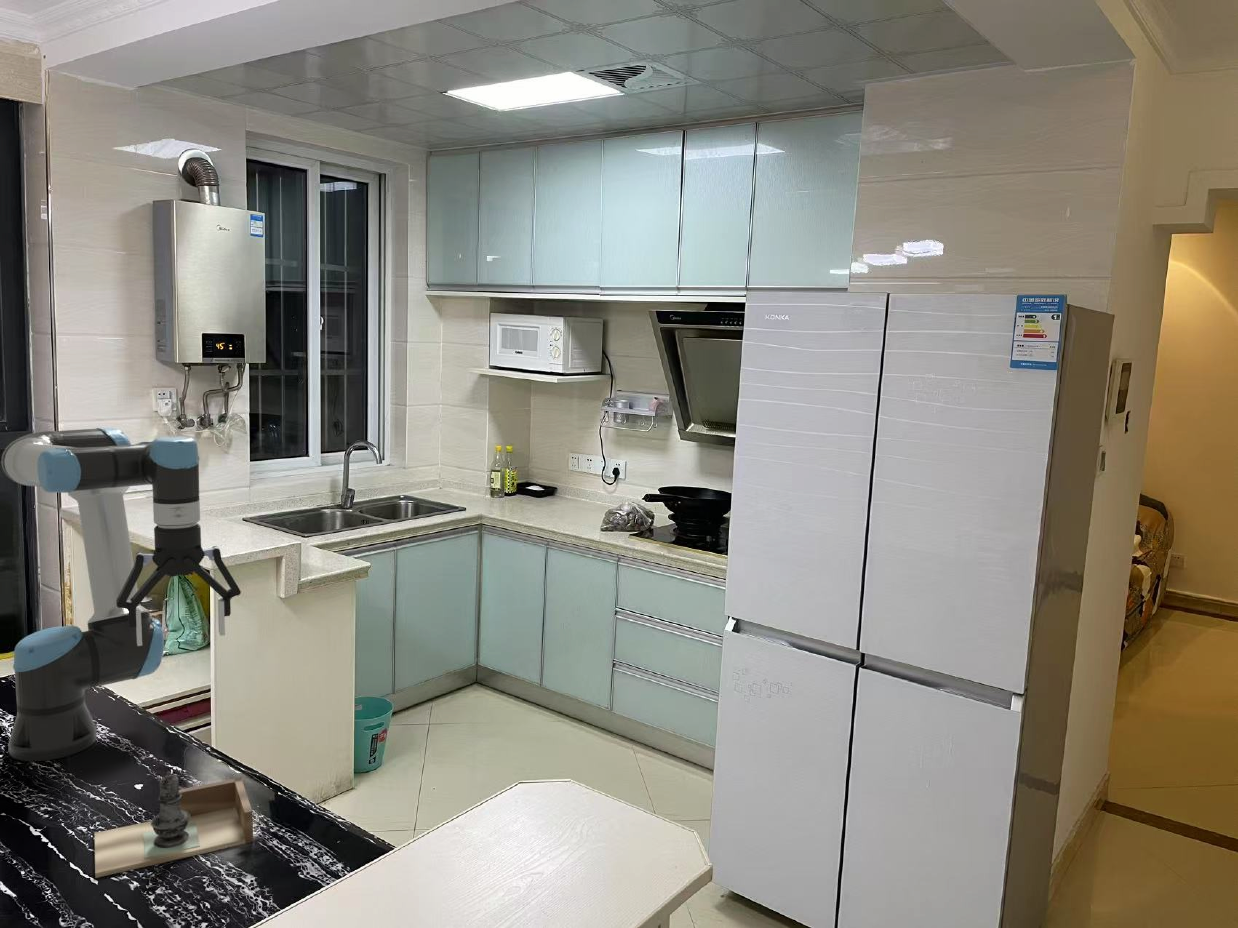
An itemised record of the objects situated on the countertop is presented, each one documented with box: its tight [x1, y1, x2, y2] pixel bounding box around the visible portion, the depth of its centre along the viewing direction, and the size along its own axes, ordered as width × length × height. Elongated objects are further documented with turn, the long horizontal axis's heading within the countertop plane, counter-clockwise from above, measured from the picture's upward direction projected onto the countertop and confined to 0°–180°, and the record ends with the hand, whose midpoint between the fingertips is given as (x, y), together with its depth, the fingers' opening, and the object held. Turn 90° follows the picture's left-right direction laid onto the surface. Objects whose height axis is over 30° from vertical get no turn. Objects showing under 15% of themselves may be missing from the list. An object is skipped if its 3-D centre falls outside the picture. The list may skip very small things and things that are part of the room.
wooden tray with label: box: [94, 777, 254, 879], centre depth 154 cm, size 13×23×6 cm, turn 120°
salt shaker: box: [150, 770, 190, 848], centre depth 152 cm, size 6×6×12 cm
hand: (181, 638), depth 168 cm, fingers open, 13 cm apart
